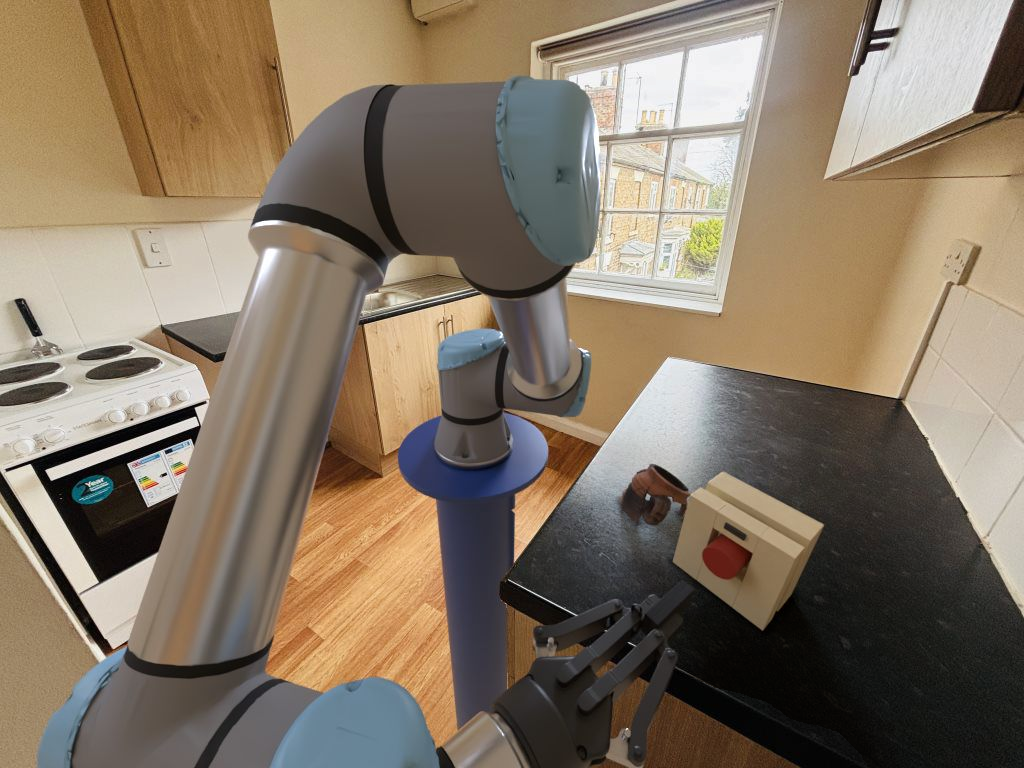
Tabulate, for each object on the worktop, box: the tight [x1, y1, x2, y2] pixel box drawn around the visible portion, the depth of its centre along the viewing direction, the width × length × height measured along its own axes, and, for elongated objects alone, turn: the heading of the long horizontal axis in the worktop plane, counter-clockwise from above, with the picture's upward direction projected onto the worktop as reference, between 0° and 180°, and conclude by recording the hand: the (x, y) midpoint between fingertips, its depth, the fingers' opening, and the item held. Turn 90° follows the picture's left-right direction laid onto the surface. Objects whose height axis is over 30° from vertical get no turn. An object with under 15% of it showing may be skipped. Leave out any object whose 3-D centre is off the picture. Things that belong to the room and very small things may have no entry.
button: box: [702, 534, 752, 580], centre depth 48 cm, size 4×4×4 cm
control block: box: [672, 471, 825, 631], centre depth 51 cm, size 12×8×12 cm
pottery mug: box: [619, 463, 691, 526], centre depth 63 cm, size 12×10×8 cm
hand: (685, 593), depth 44 cm, fingers closed
